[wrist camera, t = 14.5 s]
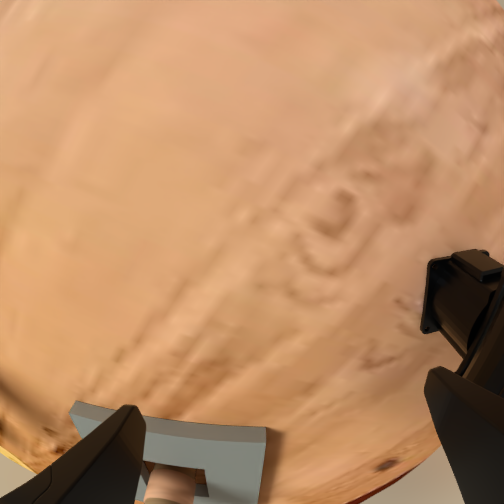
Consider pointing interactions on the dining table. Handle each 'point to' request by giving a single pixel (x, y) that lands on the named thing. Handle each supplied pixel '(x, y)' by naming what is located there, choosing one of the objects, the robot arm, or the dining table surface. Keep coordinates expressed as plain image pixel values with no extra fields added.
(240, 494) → the slotted shelf board
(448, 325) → the robot arm
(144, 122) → the dining table surface
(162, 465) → the lidded jar
